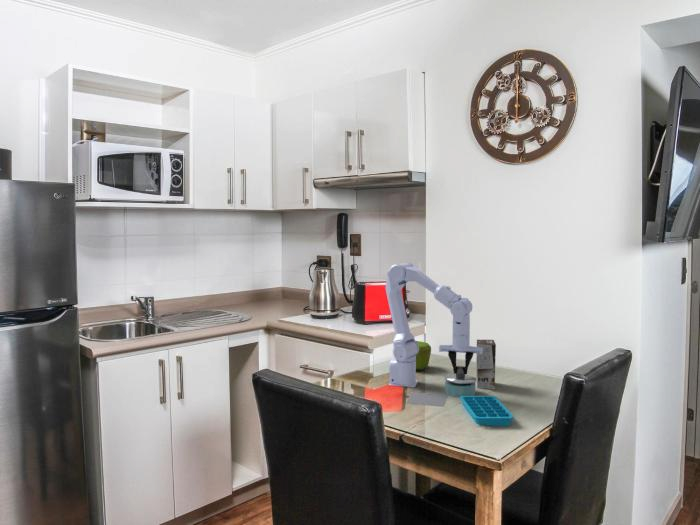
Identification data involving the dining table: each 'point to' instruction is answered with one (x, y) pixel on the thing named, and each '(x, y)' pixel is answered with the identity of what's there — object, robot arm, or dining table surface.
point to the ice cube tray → (487, 410)
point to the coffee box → (486, 365)
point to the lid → (460, 376)
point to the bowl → (459, 389)
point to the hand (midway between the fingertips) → (460, 373)
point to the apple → (423, 355)
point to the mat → (427, 399)
